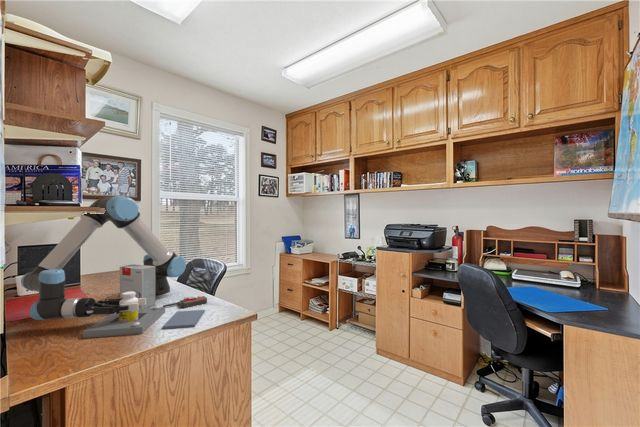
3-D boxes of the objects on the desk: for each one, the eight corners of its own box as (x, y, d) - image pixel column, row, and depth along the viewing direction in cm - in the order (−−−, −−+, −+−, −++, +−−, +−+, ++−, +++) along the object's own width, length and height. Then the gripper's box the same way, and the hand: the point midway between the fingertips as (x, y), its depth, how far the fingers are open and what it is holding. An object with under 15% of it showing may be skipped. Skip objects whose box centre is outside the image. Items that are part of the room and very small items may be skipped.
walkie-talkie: (204, 300, 151) (162, 308, 138) (204, 291, 151) (162, 299, 138) (209, 303, 145) (166, 313, 132) (209, 295, 145) (166, 303, 132)
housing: (117, 315, 128) (117, 307, 128) (165, 312, 131) (165, 304, 131) (83, 338, 104) (83, 328, 104) (142, 333, 108) (142, 324, 108)
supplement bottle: (115, 325, 116) (115, 293, 117) (132, 319, 122) (132, 289, 122) (124, 327, 113) (124, 295, 113) (141, 322, 119) (141, 291, 119)
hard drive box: (119, 307, 140) (118, 266, 140) (133, 302, 147) (133, 264, 147) (142, 310, 135) (142, 268, 135) (156, 305, 142) (156, 265, 142)
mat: (176, 313, 130) (177, 311, 130) (204, 311, 132) (204, 309, 132) (162, 329, 112) (162, 326, 112) (194, 326, 114) (194, 324, 114)
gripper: (94, 309, 124) (151, 305, 128) (62, 326, 105) (130, 321, 109) (94, 292, 124) (151, 289, 128) (62, 306, 105) (130, 302, 109)
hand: (141, 303), depth 119 cm, fingers closed on supplement bottle, 7 cm apart
